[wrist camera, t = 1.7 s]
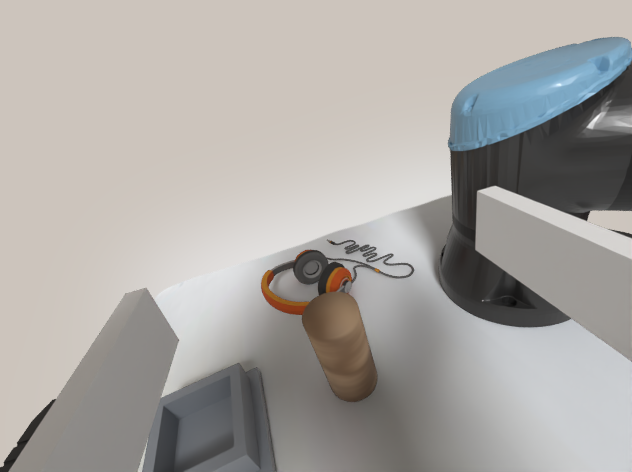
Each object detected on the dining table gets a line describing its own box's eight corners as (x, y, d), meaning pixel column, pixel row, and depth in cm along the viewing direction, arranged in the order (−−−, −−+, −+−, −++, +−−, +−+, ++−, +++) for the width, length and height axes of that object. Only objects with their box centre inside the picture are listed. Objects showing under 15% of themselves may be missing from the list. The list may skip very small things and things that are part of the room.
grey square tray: (260, 372, 34) (246, 351, 32) (277, 481, 25) (260, 462, 23) (167, 414, 33) (147, 396, 31) (149, 546, 24) (118, 532, 22)
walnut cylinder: (364, 348, 33) (345, 284, 28) (386, 387, 29) (368, 320, 24) (323, 367, 32) (295, 305, 27) (339, 410, 28) (311, 347, 23)
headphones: (425, 250, 40) (301, 316, 30) (422, 283, 42) (306, 355, 32) (344, 219, 53) (238, 258, 43) (345, 245, 55) (245, 288, 45)
